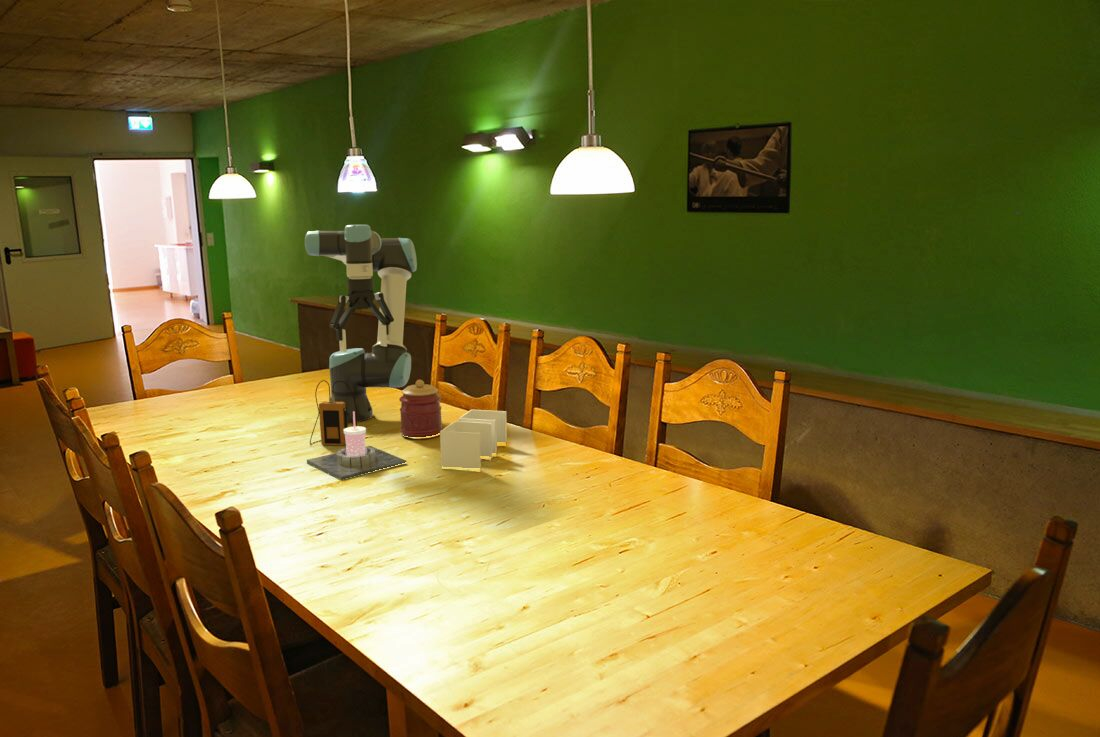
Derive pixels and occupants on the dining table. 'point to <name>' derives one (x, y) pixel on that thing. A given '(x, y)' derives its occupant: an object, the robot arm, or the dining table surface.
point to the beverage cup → (355, 439)
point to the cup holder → (355, 462)
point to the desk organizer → (472, 438)
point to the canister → (420, 410)
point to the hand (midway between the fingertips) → (363, 348)
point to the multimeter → (332, 420)
